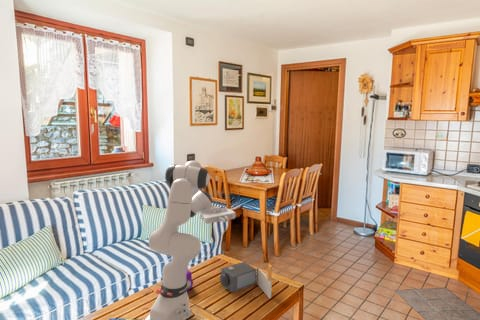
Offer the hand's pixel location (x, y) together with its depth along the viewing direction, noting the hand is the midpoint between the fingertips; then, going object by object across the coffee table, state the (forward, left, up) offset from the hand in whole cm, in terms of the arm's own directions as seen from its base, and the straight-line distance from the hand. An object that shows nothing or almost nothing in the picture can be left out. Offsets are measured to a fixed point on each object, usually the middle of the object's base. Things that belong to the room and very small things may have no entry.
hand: (226, 220), depth 184 cm
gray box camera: (-4, -10, -34) cm, 36 cm away
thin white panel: (-4, -25, -34) cm, 42 cm away
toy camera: (-22, +15, -34) cm, 43 cm away
